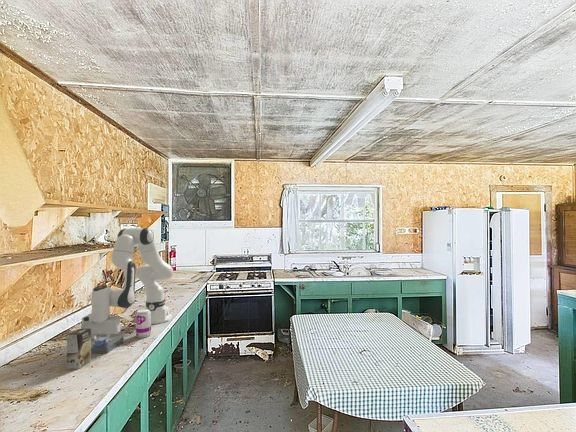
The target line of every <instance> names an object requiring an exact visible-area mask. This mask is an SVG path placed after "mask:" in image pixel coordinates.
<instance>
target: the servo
mask: <svg viewBox="0 0 576 432" xmlns="http://www.w3.org/2000/svg"><path fill="white" fill-rule="evenodd" d="M100 337H101V338H99V337H98V338H99V339H98V340H96V341H95V344H94V345H93V346H103V345H104V344H106V343H107V342H104V339H105V338H106V337H107V336H100ZM109 340H110V339H108V341H109Z"/></svg>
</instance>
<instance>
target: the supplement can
mask: <svg viewBox="0 0 576 432" xmlns="http://www.w3.org/2000/svg"><path fill="white" fill-rule="evenodd" d="M150 335H152V324H151V312H150V310H149V309H145V308H144V309H138V310H137V311H136V312H135V337H137V338H138V339H142V338H143V339H144V338H147V337H149V336H150Z"/></svg>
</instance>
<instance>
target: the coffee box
mask: <svg viewBox="0 0 576 432" xmlns="http://www.w3.org/2000/svg"><path fill="white" fill-rule="evenodd" d="M91 342H92V336H91V329H81V328H78V329H76V330H74V331H71V332H69V333H67V334H66V369H68V370H71V369H72V370H73V369H75V370H76V369H77V370H79V369H81V368H83V367H84V366H86V365H87V364H89V363H90V362H92V353H91Z"/></svg>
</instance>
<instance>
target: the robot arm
mask: <svg viewBox="0 0 576 432" xmlns="http://www.w3.org/2000/svg"><path fill="white" fill-rule="evenodd" d="M136 246H137V248H138V251H139V255H140V258H141V261H142V262H144V263H145V264H141V265H139V266H137V267H136V263H135V262H134V259H133V256H134V251H135V247H136ZM111 262H112V264H113V265H114V266H115V267H116V268H118V269H120V270H121V271H123V273H124V283H123V288H122V289H119V288H118V289H117V288H111V287H110V286H108V285H105V284H103V285H98V286H96V287H94V288H93V289H92V291H91V294H90V295H91V297H90V305H91V313H89V314H87V315H85V316H83V317H82V318H81V321H82V322H81V324H80V329H91V339H92V340H93V341H94V342H95V341H96V340H98V338H99V337H97V335H105V337H106V338H105V339H104V342H108V338H109V337H111V335H118V334H119V333H120V332H121V331H122V330H121V319H120V317H119V316H117V315H115V316H113V315H111V313H110V312H111V308H110V307H113V308H123V309H128V308H130V307H131V306H132V305H133V304H134V303H135V301H136V291H135V289H136V278H137V279H138V280H139V281H140V282H141V283H142V285H143V287H144V288H145V297H146V301H145V308H144V309H149V310H150V312H151V325H156V324H157V325H158V324H161V323H167V322H169V321H170V320H171V319H172V317H173V313H170V309H169V307H168V306H166V301H167V299H166V298H164V297H165V295H164V294H165V293H164V290H165V289H164V288H163V286H161V285H160V284H159V283H157V282H158V281H169V280H170V279H172V277H173V276H174V269H173V266H172V265H170V264H169V263H167V262H166V261H165V260H163V258H162V256H160V252H159V250H158V247H157V242H156V239H155V235H154V232H153V230H152V229H151V228H148V227H145V228H142V227H132V228H131V227H129V228H127V227H126V228H122V229H120V231H118V233H117V239H116V241H115V243H114V247H113V250H112V253H111Z"/></svg>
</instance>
